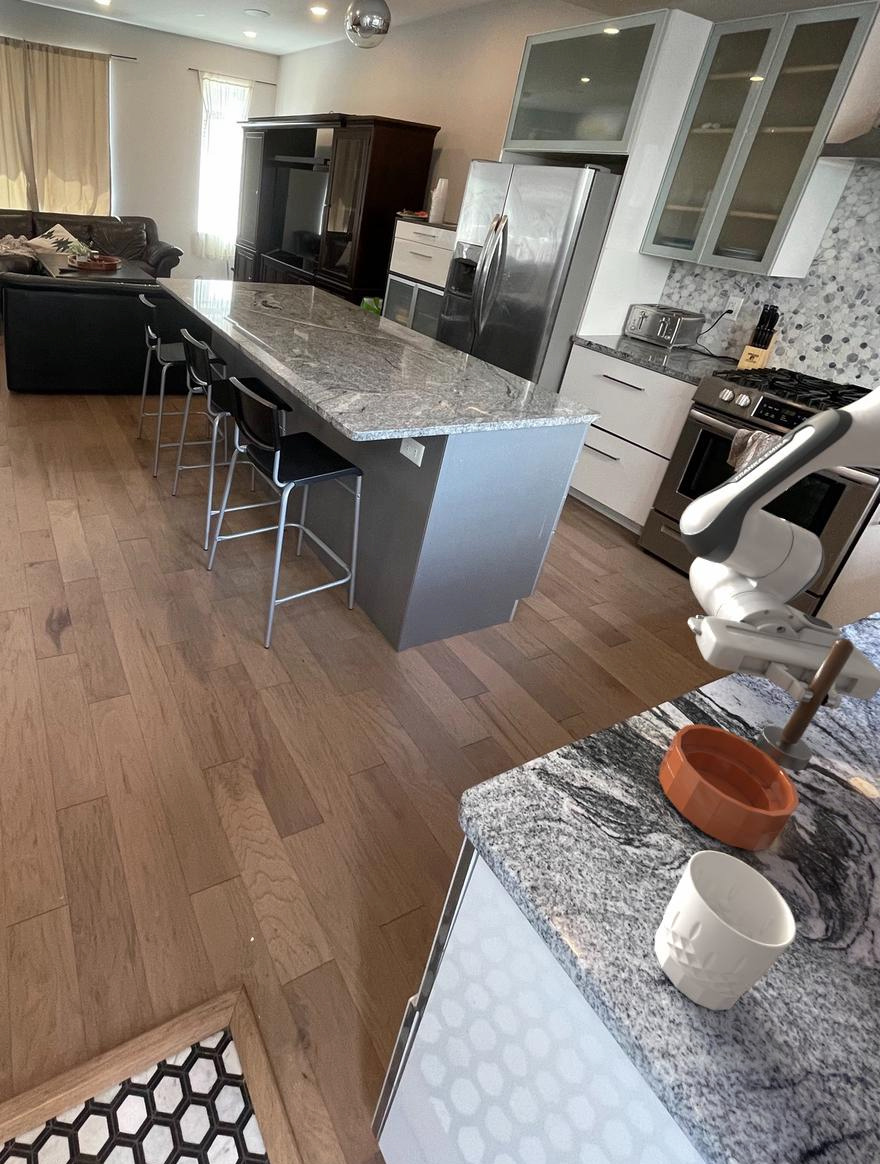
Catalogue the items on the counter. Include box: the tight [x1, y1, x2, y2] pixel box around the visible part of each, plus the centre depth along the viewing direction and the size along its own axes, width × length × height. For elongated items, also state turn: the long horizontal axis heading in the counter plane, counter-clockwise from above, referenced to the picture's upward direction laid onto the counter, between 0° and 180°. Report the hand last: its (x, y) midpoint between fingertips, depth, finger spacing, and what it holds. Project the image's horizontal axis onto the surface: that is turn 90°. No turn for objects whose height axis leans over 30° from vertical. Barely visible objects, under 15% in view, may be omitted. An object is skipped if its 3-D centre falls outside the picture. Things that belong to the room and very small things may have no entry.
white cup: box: [654, 850, 797, 1011], centre depth 54 cm, size 8×8×10 cm
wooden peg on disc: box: [756, 637, 855, 772], centre depth 75 cm, size 5×5×18 cm
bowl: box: [658, 723, 800, 852], centre depth 72 cm, size 12×12×6 cm
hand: (819, 700), depth 74 cm, fingers closed on wooden peg on disc
